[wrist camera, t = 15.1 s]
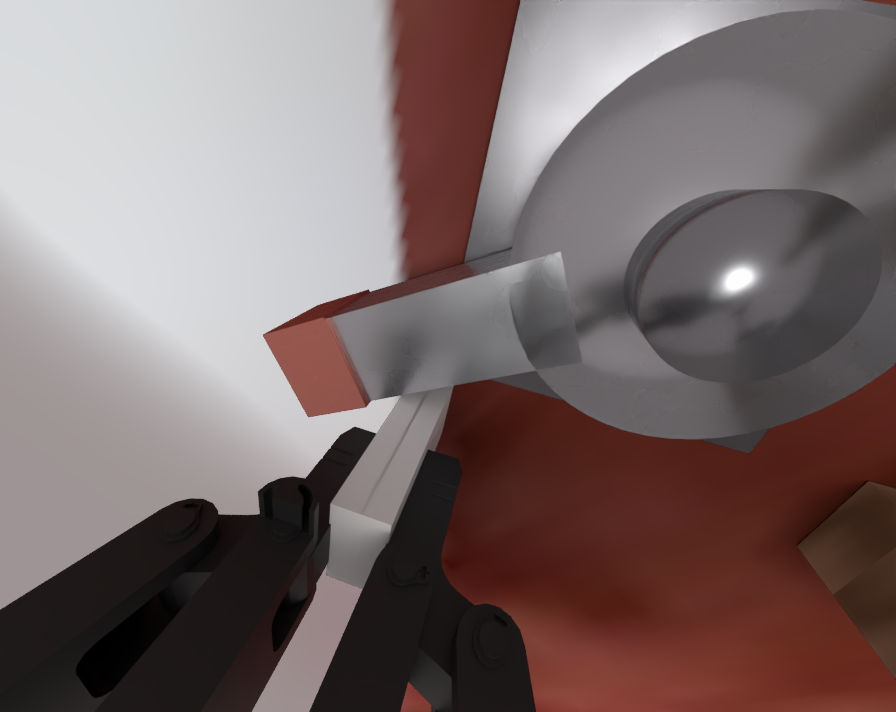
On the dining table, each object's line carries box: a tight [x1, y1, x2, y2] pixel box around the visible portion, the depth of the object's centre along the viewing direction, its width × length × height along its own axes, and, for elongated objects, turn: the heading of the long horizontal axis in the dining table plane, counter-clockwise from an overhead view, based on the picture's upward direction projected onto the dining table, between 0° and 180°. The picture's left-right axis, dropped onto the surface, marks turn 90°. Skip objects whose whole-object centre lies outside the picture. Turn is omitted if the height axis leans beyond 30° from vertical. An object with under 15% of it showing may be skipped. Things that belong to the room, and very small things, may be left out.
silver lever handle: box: [263, 9, 896, 439], centre depth 10 cm, size 17×9×5 cm, turn 108°
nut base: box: [464, 0, 896, 454], centre depth 11 cm, size 12×12×1 cm
